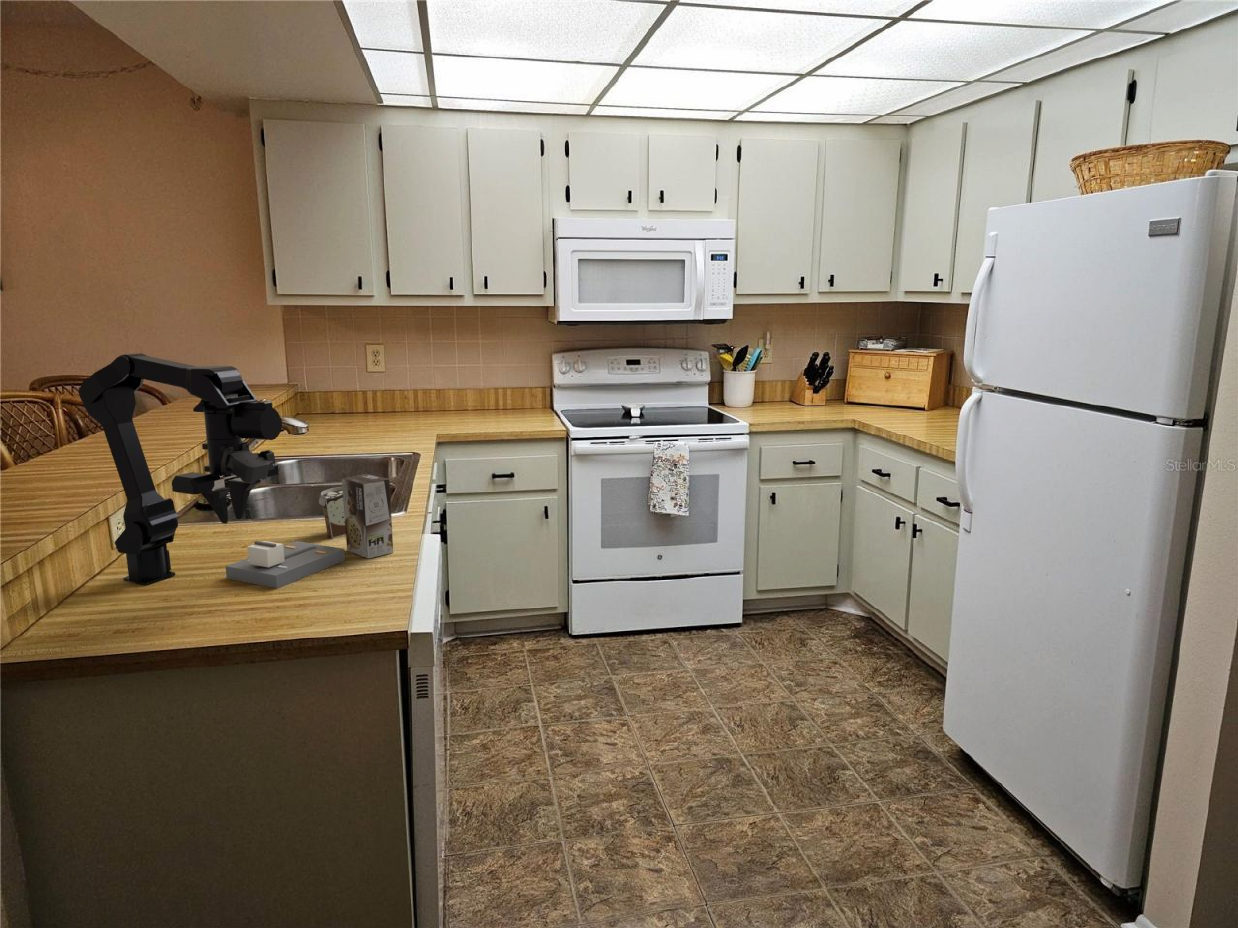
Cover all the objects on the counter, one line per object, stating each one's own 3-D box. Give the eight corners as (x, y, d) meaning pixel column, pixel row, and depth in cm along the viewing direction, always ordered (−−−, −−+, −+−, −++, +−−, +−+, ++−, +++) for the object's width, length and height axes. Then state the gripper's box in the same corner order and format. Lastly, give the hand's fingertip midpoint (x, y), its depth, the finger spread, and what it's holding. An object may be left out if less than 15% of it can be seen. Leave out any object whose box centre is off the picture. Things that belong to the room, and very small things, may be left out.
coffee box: (394, 552, 172) (391, 478, 169) (367, 559, 168) (363, 483, 165) (372, 543, 179) (368, 472, 175) (345, 550, 174) (340, 477, 171)
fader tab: (268, 567, 154) (266, 547, 153) (249, 563, 156) (247, 543, 155) (284, 561, 157) (283, 541, 156) (265, 557, 159) (263, 538, 158)
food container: (355, 523, 194) (353, 483, 192) (371, 528, 191) (369, 486, 189) (310, 535, 184) (306, 492, 182) (326, 540, 181) (323, 496, 179)
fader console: (277, 588, 151) (276, 574, 150) (226, 578, 156) (225, 565, 155) (345, 560, 167) (344, 547, 167) (297, 552, 172) (296, 540, 172)
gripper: (212, 449, 133) (220, 540, 137) (297, 432, 150) (303, 513, 153) (165, 444, 138) (174, 532, 141) (253, 428, 155) (260, 507, 158)
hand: (232, 521), depth 148 cm, fingers open, 3 cm apart
